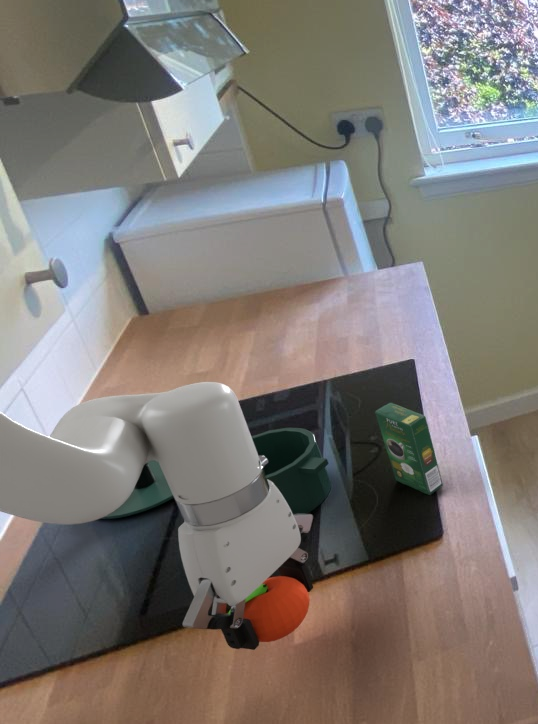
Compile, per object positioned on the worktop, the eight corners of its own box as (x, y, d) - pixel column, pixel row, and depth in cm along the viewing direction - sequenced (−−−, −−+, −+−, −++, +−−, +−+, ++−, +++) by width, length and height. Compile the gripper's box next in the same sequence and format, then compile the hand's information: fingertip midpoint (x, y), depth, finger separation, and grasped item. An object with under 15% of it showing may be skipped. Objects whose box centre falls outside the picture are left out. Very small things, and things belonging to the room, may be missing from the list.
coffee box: (446, 485, 112) (426, 413, 106) (430, 497, 109) (408, 424, 104) (411, 470, 115) (390, 400, 110) (395, 481, 113) (372, 410, 107)
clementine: (247, 674, 80) (227, 627, 77) (225, 640, 84) (205, 594, 81) (326, 626, 86) (310, 580, 83) (303, 597, 90) (286, 552, 87)
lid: (143, 526, 105) (125, 489, 103) (60, 518, 107) (39, 482, 105) (227, 462, 118) (212, 429, 115) (151, 456, 120) (135, 423, 117)
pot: (302, 538, 102) (283, 490, 99) (186, 527, 105) (164, 480, 101) (366, 476, 114) (351, 431, 111) (260, 467, 117) (243, 424, 113)
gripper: (260, 442, 86) (302, 557, 93) (112, 551, 70) (176, 680, 77) (317, 447, 85) (355, 563, 92) (181, 559, 69) (239, 689, 76)
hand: (273, 615), depth 84 cm, fingers closed on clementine, 7 cm apart
